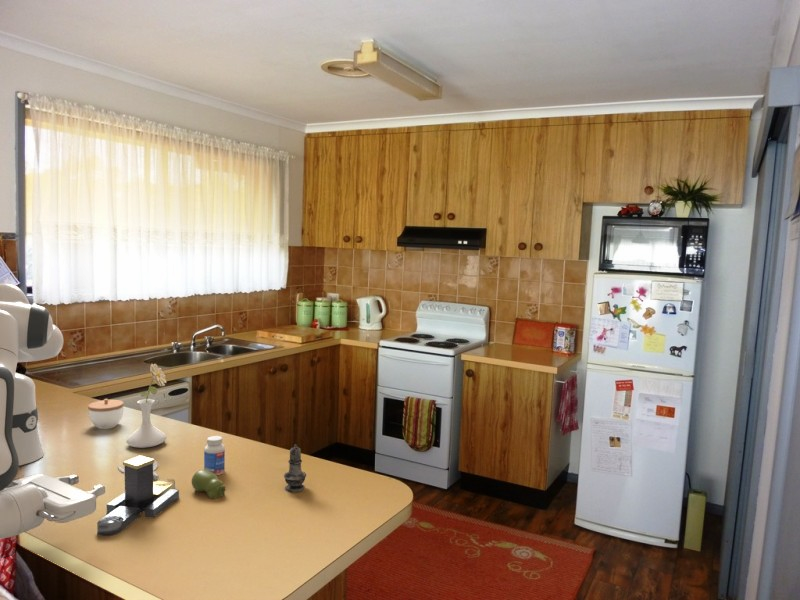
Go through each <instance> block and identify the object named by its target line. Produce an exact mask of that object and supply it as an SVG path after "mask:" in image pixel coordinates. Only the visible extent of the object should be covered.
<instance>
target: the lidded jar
mask: <svg viewBox="0 0 800 600" xmlns="http://www.w3.org/2000/svg"><path fill="white" fill-rule="evenodd" d="M124 405H125V403H124V401H123V400H120V399H108V398H104V399H103V400H96V401H93V402H91V403H89V404H88V406H87V408H88V415H89V416H88V417H89V419H90V422H91V423H92V424H93V426H94V427H96V429H99V430H106V429H107V430H110V429H113V428H116V427H117V425H118V424H119V423H120V421H122V418H123V415H124Z"/></svg>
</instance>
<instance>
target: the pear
mask: <svg viewBox="0 0 800 600" xmlns="http://www.w3.org/2000/svg"><path fill="white" fill-rule="evenodd" d="M191 486H192V488H193V489H194V490H195V491H197V492H206V494H207V496H208V498H211V499H216V498H218V497H222V496H223V495H225V492H226V486H225V485H224V482H223V481H222V480H220V479H219V478H218V475H215V474H214V473H212V472H211V471H208V470H204V469H200V470H198V471H195V472H194V474H193V476H192V477H191Z"/></svg>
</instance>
